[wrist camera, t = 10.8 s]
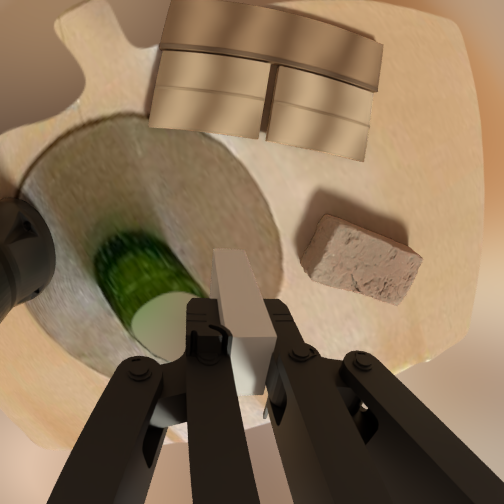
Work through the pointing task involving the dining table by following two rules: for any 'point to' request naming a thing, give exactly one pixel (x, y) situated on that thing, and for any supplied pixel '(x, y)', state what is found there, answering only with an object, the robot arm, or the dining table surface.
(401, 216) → the dining table surface
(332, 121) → the plank
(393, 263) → the brick
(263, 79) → the plank
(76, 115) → the dining table surface
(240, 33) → the floorboard
